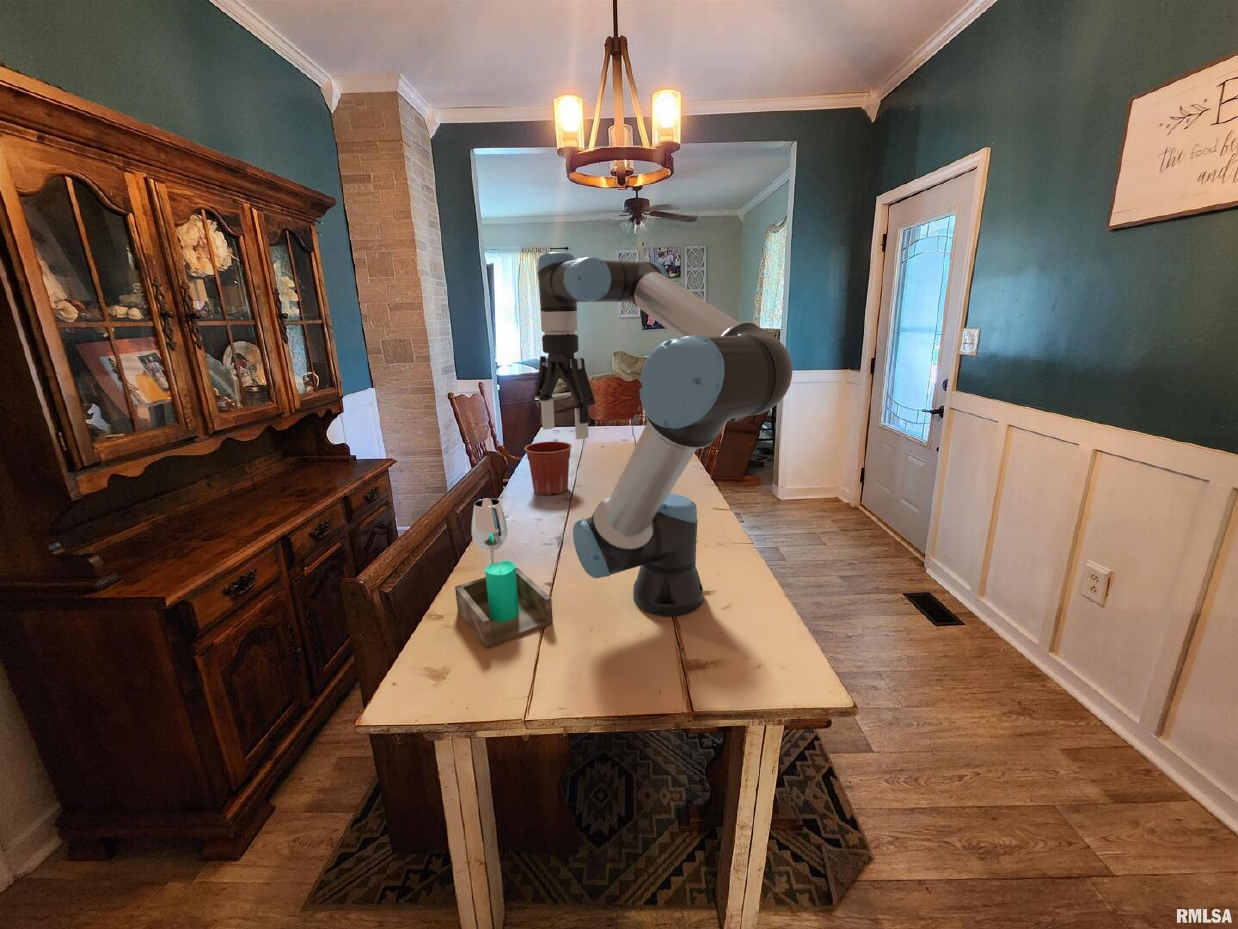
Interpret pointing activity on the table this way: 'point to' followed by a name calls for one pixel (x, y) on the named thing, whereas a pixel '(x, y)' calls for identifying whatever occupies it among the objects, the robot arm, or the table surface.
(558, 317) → the robot arm
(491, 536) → the wineglass
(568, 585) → the table surface
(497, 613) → the candle
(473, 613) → the tray
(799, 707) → the table surface
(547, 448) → the flower pot
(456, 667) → the table surface
